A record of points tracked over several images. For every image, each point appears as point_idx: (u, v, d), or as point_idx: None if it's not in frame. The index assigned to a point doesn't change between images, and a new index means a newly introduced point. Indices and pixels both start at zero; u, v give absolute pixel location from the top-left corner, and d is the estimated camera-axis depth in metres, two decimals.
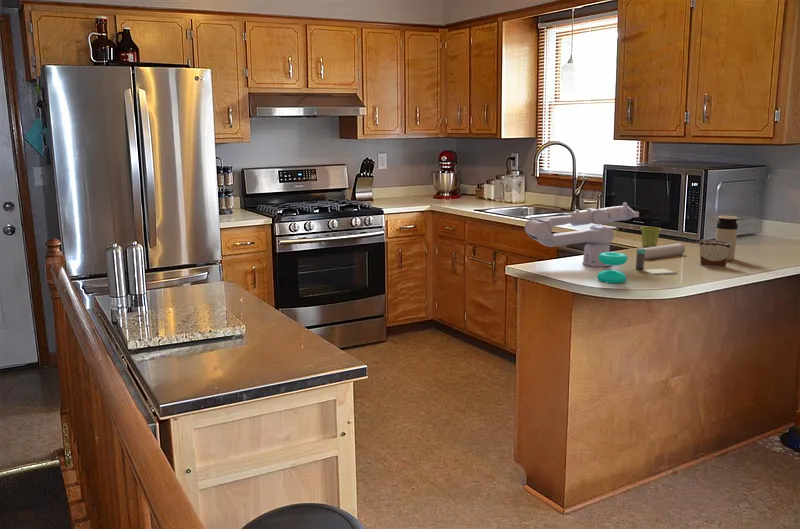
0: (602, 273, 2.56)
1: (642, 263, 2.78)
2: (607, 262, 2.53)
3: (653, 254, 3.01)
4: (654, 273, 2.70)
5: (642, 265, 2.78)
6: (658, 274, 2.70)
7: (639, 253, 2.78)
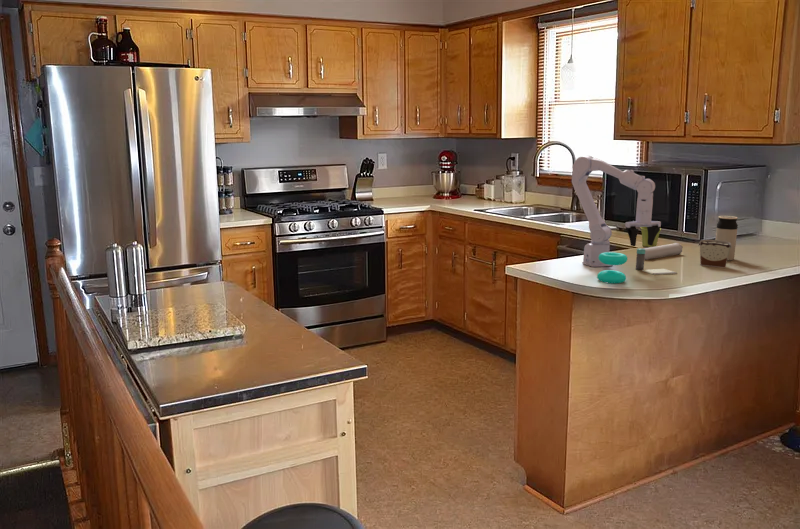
0: (602, 273, 2.56)
1: (642, 263, 2.78)
2: (607, 262, 2.53)
3: (654, 254, 3.01)
4: (654, 273, 2.70)
5: (642, 265, 2.78)
6: (658, 274, 2.70)
7: (639, 253, 2.78)
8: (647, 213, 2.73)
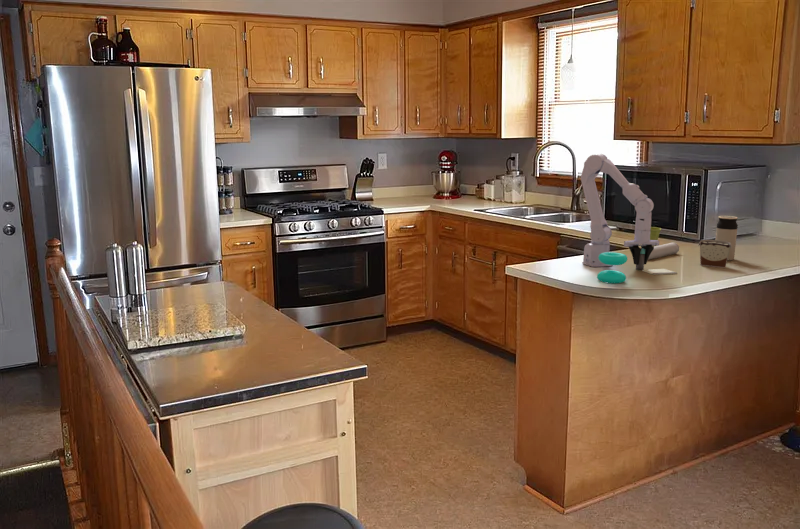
0: (602, 273, 2.56)
1: (642, 263, 2.78)
2: (607, 262, 2.53)
3: (654, 254, 3.01)
4: (654, 273, 2.70)
5: (642, 265, 2.78)
6: (658, 274, 2.70)
7: None
8: (645, 232, 2.74)
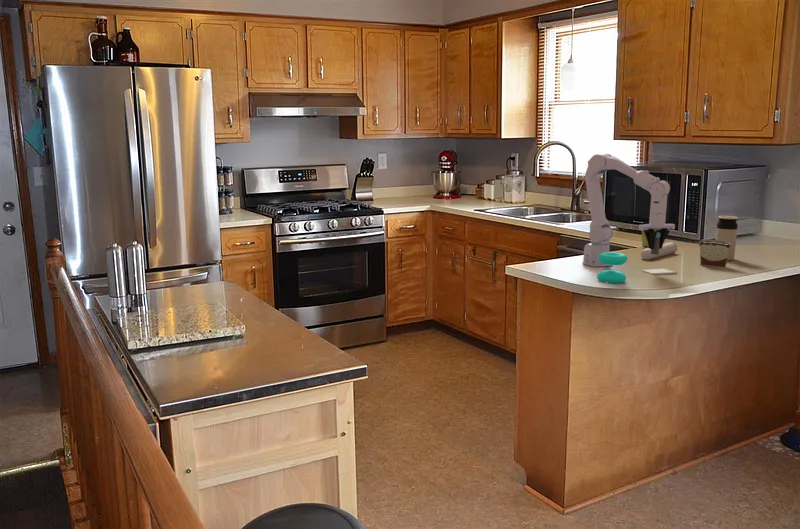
0: (602, 273, 2.56)
1: (657, 247, 2.71)
2: (607, 262, 2.53)
3: (655, 254, 3.01)
4: (654, 273, 2.70)
5: (657, 249, 2.71)
6: (658, 274, 2.70)
7: None
8: (661, 216, 2.67)
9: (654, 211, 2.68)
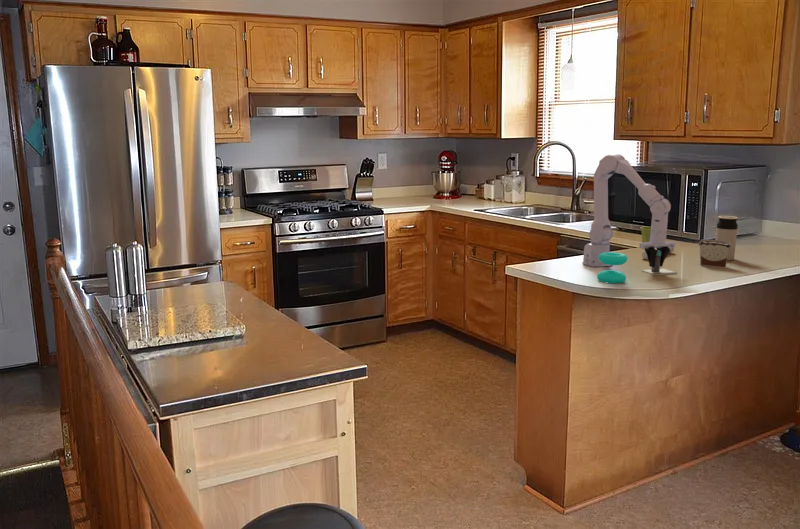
0: (602, 273, 2.56)
1: (658, 265, 2.72)
2: (607, 262, 2.53)
3: None
4: (654, 273, 2.70)
5: (658, 267, 2.72)
6: (658, 274, 2.70)
7: None
8: (662, 234, 2.68)
9: (655, 229, 2.69)
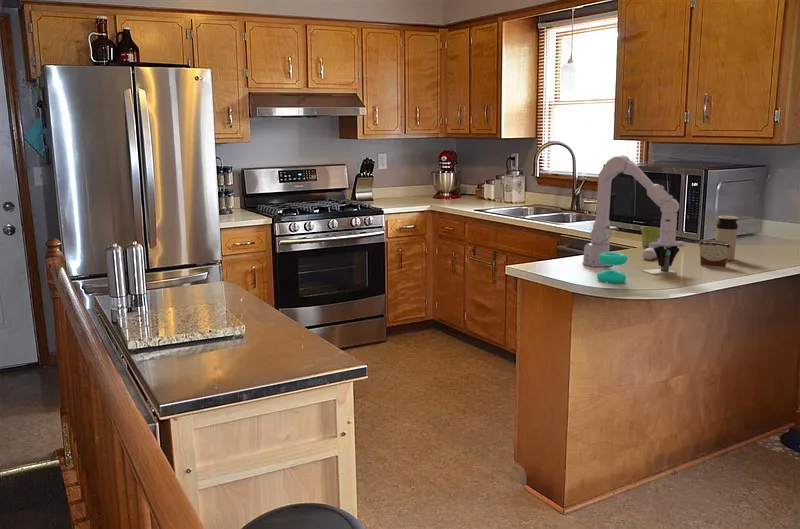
0: (602, 273, 2.56)
1: (667, 265, 2.74)
2: (607, 262, 2.53)
3: None
4: (654, 273, 2.70)
5: (667, 267, 2.74)
6: (658, 274, 2.70)
7: None
8: (671, 234, 2.70)
9: (665, 229, 2.70)
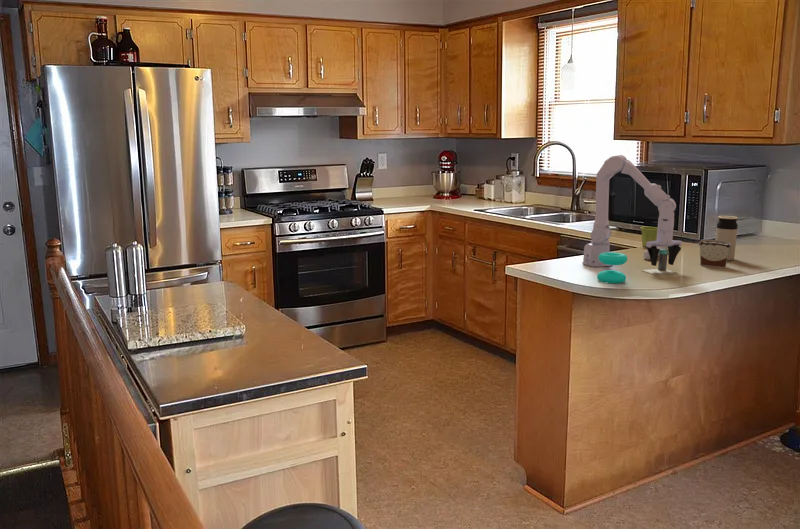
0: (602, 273, 2.56)
1: (665, 264, 2.75)
2: (607, 262, 2.53)
3: None
4: (654, 273, 2.70)
5: (665, 266, 2.75)
6: (658, 274, 2.70)
7: (662, 254, 2.74)
8: (668, 233, 2.71)
9: (663, 228, 2.71)
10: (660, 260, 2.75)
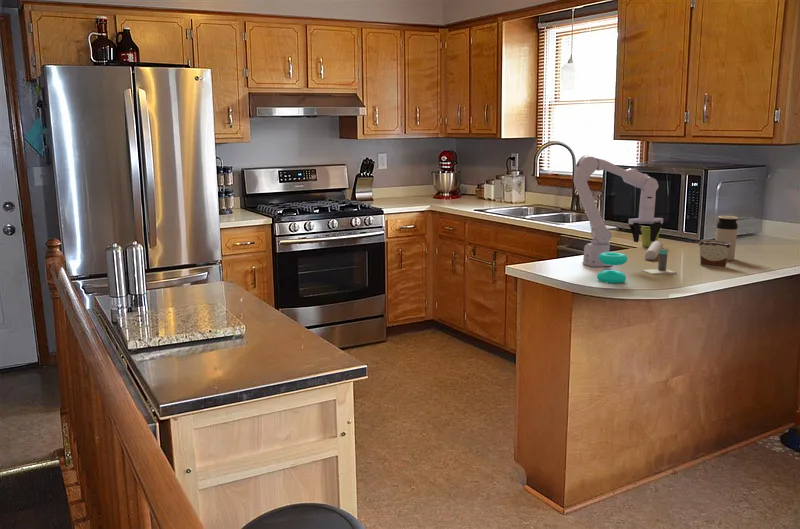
0: (602, 273, 2.56)
1: (665, 264, 2.75)
2: (607, 262, 2.53)
3: (657, 254, 3.02)
4: (654, 273, 2.70)
5: (665, 266, 2.75)
6: (658, 274, 2.70)
7: (662, 254, 2.74)
8: (650, 210, 2.79)
9: (648, 206, 2.79)
10: (660, 260, 2.75)
